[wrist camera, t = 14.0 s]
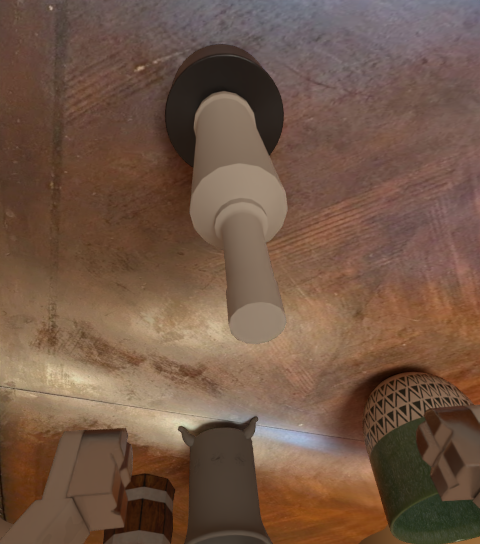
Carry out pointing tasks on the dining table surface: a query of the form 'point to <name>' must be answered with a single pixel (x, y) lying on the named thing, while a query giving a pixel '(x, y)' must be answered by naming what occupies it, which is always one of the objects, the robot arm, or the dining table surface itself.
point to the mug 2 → (223, 488)
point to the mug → (145, 513)
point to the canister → (216, 78)
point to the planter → (413, 460)
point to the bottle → (239, 212)
